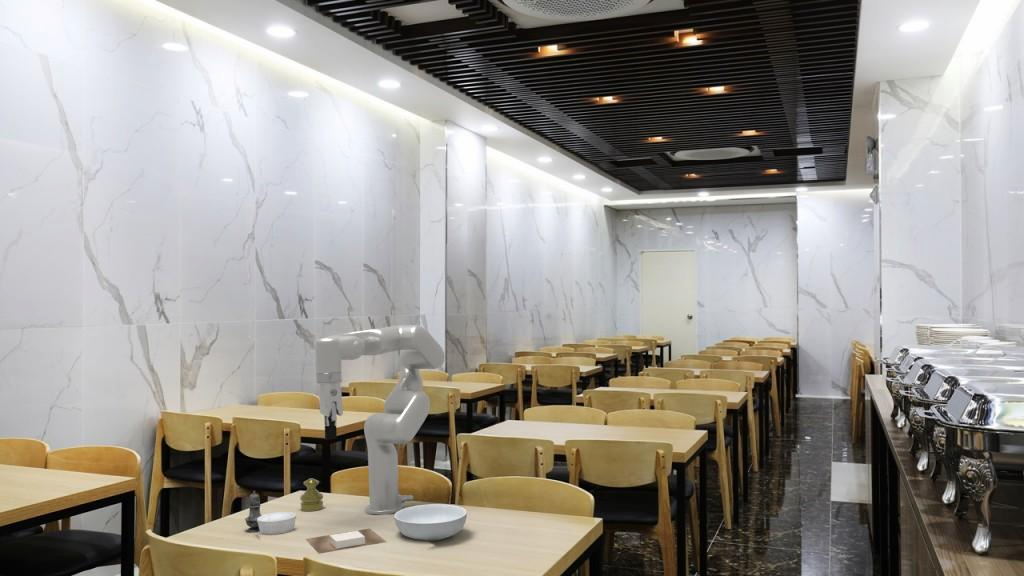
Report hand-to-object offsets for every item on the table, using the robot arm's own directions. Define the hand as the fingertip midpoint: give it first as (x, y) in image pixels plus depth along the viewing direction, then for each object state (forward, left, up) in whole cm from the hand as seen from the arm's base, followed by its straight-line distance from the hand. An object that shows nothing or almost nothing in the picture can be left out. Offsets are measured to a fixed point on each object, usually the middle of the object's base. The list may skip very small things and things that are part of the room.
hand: (330, 438), depth 247 cm
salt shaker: (+21, -12, -27) cm, 36 cm away
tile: (+2, +19, -25) cm, 31 cm away
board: (+2, +19, -27) cm, 33 cm away
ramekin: (+16, -4, -27) cm, 32 cm away
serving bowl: (-22, +25, -27) cm, 43 cm away
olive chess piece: (0, -28, -27) cm, 39 cm away
